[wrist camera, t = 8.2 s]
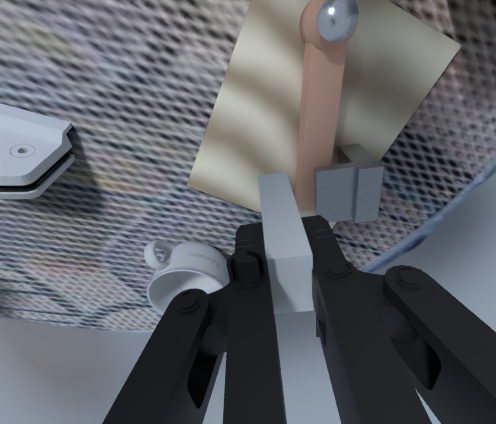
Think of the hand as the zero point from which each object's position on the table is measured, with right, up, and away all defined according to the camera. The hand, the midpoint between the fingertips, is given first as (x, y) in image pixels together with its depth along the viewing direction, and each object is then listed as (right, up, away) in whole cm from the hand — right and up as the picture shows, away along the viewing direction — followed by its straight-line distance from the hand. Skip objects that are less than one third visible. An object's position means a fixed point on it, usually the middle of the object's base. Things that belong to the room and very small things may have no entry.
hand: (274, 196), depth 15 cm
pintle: (+6, +15, +8) cm, 18 cm away
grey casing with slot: (-31, +8, +18) cm, 37 cm away
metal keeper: (+9, +4, +20) cm, 22 cm away
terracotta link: (+6, +10, +16) cm, 20 cm away
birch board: (+5, +10, +18) cm, 21 cm away
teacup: (-10, -7, +28) cm, 30 cm away
